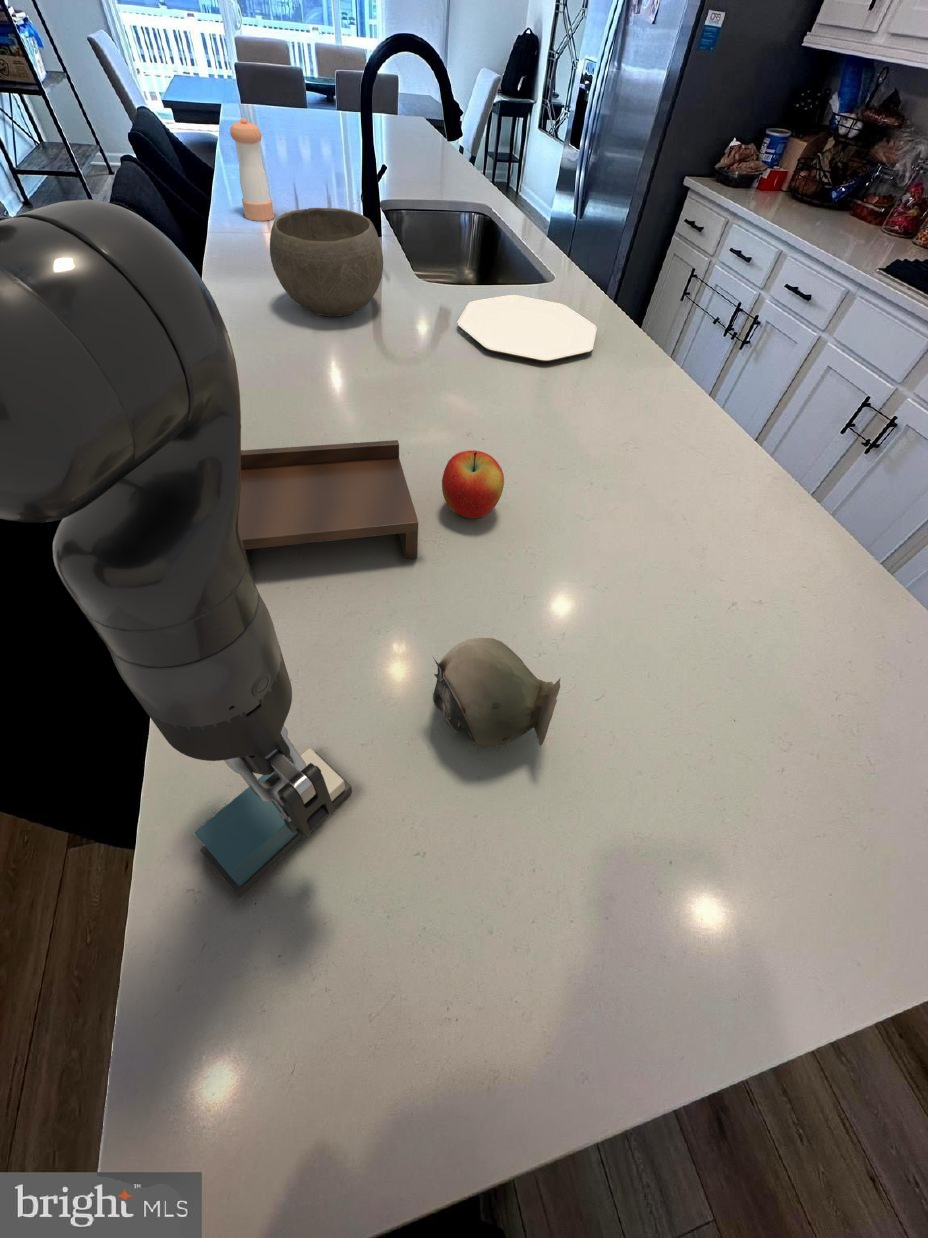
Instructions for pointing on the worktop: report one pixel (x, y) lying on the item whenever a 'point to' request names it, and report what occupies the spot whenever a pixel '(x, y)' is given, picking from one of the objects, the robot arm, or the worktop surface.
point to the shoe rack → (325, 495)
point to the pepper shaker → (252, 171)
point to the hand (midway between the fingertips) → (266, 783)
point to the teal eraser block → (257, 831)
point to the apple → (472, 483)
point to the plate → (528, 328)
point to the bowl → (327, 259)
